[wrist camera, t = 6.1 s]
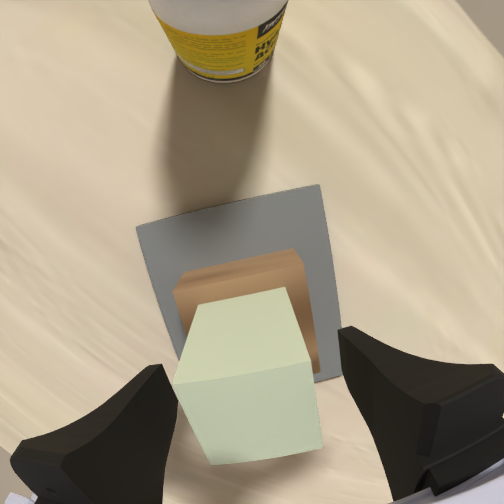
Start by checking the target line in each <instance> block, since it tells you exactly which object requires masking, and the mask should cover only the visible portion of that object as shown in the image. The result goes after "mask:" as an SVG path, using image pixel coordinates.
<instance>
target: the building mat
mask: <svg viewBox="0 0 504 504" xmlns="http://www.w3.org/2000/svg"><path fill="white" fill-rule="evenodd" d="M136 231H137V235H138V238H139V242H140V245H141V249H142V252H143V256H144V259H145V263H146V266H147V269H148V272H149V276H150V279H151V282H152V285H153V288H154V292H155V295H156V298H157V301H158V304H159V307H160V310H161V313H162V315H163V318H164V321H165V324H166V327H167V330H168V332H169V335H170V338H171V341H172V343H173V346H174V349H175V351H176V354H177V357H178V359H179V361H180V358H181V355H182V352H183V349H184V346H185V343H186V340H187V335H186V332H185V329H184V326H183V323H182V320H181V317H180V314H179V311H178V308H177V305H176V302H175V299H174V295H173V292H172V291H173V290H174V288H175V286H176V284H177V283H178V281H179V279H180V278H181V276H182V274H183V273H184V272H186V271H191V270H195V269H200V268H205V267H209V266H214V265H218V264H223V263H228V262H232V261H237V260H241V259H246V258H250V257H255V256H260V255H264V254H269V253H273V252H278V251H282V250H287V249H291V248H294V250H295V251H296V253H297V254H298V256H299V257H300V259H301V260H302V262H303V263H304V268H305V274H306V280H307V285H308V291H309V297H310V303H311V309H312V315H313V322H314V328H315V335H316V341H317V348H318V355H319V361H320V368H321V372H320V373H316V374H313V378H314V382H317V381H321V380H325V379H329V378H333V377H337V376H341V375H343V373H342V370H341V360H340V350H339V341H338V332H337V330H338V329H342V327H341V319H340V310H339V302H338V294H337V287H336V280H335V273H334V266H333V259H332V253H331V246H330V240H329V234H328V228H327V222H326V217H325V211H324V206H323V200H322V195H321V190H320V185H318V184H316V185H311V186H306V187H301V188H296V189H291V190H286V191H281V192H277V193H272V194H267V195H263V196H258V197H253V198H249V199H244V200H240V201H235V202H231V203H227V204H222V205H218V206H214V207H210V208H205V209H201V210H197V211H193V212H189V213H185V214H181V215H177V216H173V217H169V218H165V219H161V220H157V221H154V222H150V223H146V224H142V225H139V226H137V227H136Z"/></svg>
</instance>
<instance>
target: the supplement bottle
mask: <svg viewBox="0 0 504 504" xmlns="http://www.w3.org/2000/svg"><path fill="white" fill-rule="evenodd" d="M148 1H149V3H150V6H151V8H152V10H153V12H154V14H155V16H156V17H157V19H158V21H159V23H160V24H161V26H162V28H163V30H164V32H165V33H166V35H167V37H168V39H169V41H170V43H171V45H172V46H173V48H174V50H175V52H176V54H177V56H178V57H179V59H180V61H181V62H182V64H183V65H184V66H185V67H186V68H187V69H188V70H189V71H190V72H191V73H192V74H194V75H195V76H197V77H199V78H201V79H204V80H207V81H210V82H216V83H230V82H236V81H240V80H244V79H246V78H249V77H251V76H253V75H254V74H256V73H257V72H259V71H260V70H261V69H262V68H263V67H264V66H265V65H266V64H267V63H268V61H269V60H270V58H271V56H272V54H273V52H274V49H275V46H276V42H277V39H278V35H279V31H280V28H281V24H282V21H283V17H284V13H285V10H286V6H287V3H288V0H148Z"/></svg>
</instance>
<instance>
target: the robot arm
mask: <svg viewBox="0 0 504 504" xmlns="http://www.w3.org/2000/svg"><path fill="white" fill-rule="evenodd" d="M337 332H338V341H339V350H340V360H341V370H342V373H343V376H344V379H345V381H346V384H347V387H348V389H349V391H350V393H351V395H352V397H353V399H354V401H355V403H356V405H357V407H358V408H359V410H360V412H361V414H362V416H363V418H364V420H365V422H366V424H367V425H368V427H369V429H370V432H371V434H372V436H373V439H374V442H375V444H376V447H377V450H378V453H379V455H380V458H381V461H382V464H383V467H384V470H385V474H386V477H387V480H388V483H389V487H390V490H391V494H392V498H393V501H394V502H392V503H389V504H504V418H503V417H502V416H503V413H504V373H503V372H502V371H500V370H499V369H498V368H497V367H496V366H495V365H494V364H454V363H445V362H439V361H434V360H429V359H425V358H421V357H418V356H414V355H411V354H408V353H405V352H403V351H400V350H398V349H395V348H393V347H391V346H389V345H386V344H384V343H382V342H380V341H378V340H376V339H375V338H373V337H371V336H369V335H367V334H366V333H364V332H362V331H360V330H359V329H357V328H355V327H353V326H349V327H346V328H342V329H338V330H337ZM177 407H178V400H177V397H176V395H175V393H174V391H173V389H172V386H171V384H170V382H169V379H168V377H167V375H166V372H165V370H164V368H163V365H162V364H156V365H149V366H147V367H146V368H145V369H143V370H142V371H141V372H140V373H139V374H137V375H136V376H135V377H134V378H133V379H132V380H131V381H130V382H129V383H127V384H126V385H125V386H124V387H123V388H122V389H121V390H119V391H118V392H117V393H116V394H115V395H113V396H112V397H111V398H110V399H108V400H107V401H106V402H105V403H103V404H102V405H101V406H99V407H98V408H97V409H95V410H94V411H92V412H90V413H89V414H87V415H86V416H84V417H82V418H80V419H79V420H77V421H75V422H73V423H71V424H69V425H67V426H65V427H63V428H60V429H58V430H55V431H53V432H50V433H47V434H44V435H41V436H37V437H34V438H30V439H26V440H22V441H21V443H20V444H19V446H18V447H17V449H16V450H15V452H14V453H13V455H12V456H11V458H10V463H11V466H12V468H13V470H14V471H15V473H16V474H17V475H18V477H19V478H20V479H21V480H22V481H23V482H24V483H25V484H26V485H27V486H28V487H29V488H30V490H31V491H33V494H32V496H31V498H30V499H29V498H27V497H24V496H21V495H19V494H16V493H13V492H11V493H10V494H9V496H8V497H7V499H6V501H5V503H4V504H162V499H163V483H164V472H165V465H166V460H167V456H168V452H169V448H170V444H171V440H172V436H173V432H174V428H175V424H176V418H177Z"/></svg>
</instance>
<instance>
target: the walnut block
mask: <svg viewBox="0 0 504 504" xmlns="http://www.w3.org/2000/svg"><path fill="white" fill-rule="evenodd" d="M282 287H285V288H286V291H287V294H288V296H289V299H290V302H291V305H292V308H293V311H294V313H295V316H296V319H297V322H298V325H299V328H300V331H301V334H302V336H303V339H304V342H305V345H306V348H307V351H308V354H309V357H310V360H311V365H312V372H313V374H316V373H320V372H321V368H320V361H319V355H318V348H317V341H316V335H315V328H314V322H313V315H312V309H311V303H310V297H309V291H308V285H307V280H306V274H305V268H304V263H303V262H302V260H301V259H300V257H299V256H298V254H297V253H296V251H295V250H294V248H291V249H287V250H282V251H278V252H273V253H269V254H264V255H260V256H255V257H250V258H246V259H241V260H237V261H232V262H228V263H223V264H218V265H214V266H209V267H205V268H200V269H195V270H191V271H186V272H184V273H183V274H182V276H181V278H180V279H179V281H178V283H177V284H176V286H175V288H174V290H173V291H172V292H173V295H174V299H175V302H176V305H177V308H178V311H179V314H180V317H181V320H182V323H183V326H184V329H185V332H186V335H187V337H188V334H189V331H190V328H191V325H192V322H193V319H194V316H195V313H196V310H197V307H198V305H200V304H205V303H210V302H215V301H220V300H225V299H230V298H235V297H239V296H244V295H249V294H254V293H259V292H263V291H268V290H272V289H277V288H282Z"/></svg>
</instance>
